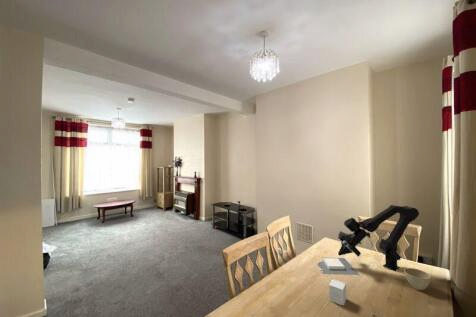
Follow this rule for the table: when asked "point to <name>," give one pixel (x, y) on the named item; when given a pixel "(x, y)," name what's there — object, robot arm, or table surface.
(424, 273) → the cream bowl
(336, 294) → the product box
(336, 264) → the tile
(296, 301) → the table surface
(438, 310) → the table surface
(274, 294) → the table surface
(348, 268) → the mat
